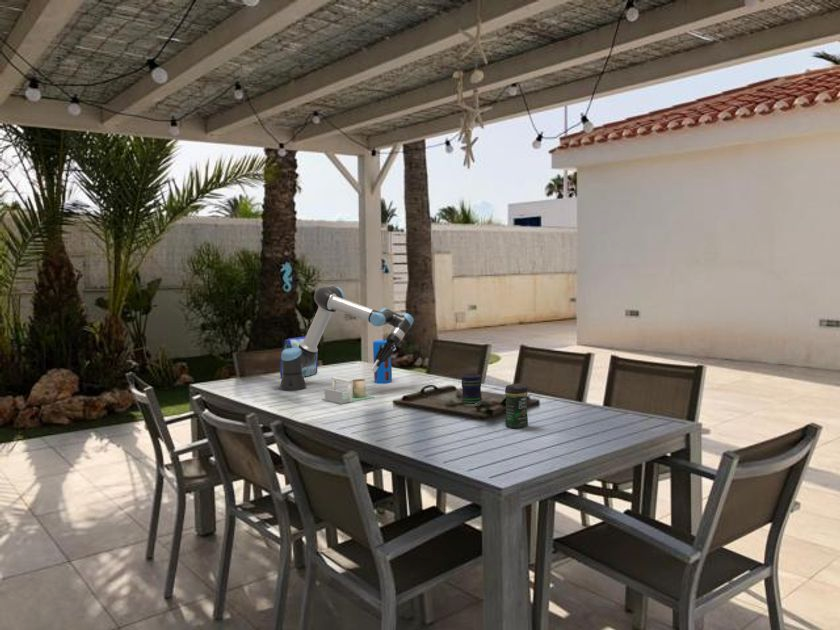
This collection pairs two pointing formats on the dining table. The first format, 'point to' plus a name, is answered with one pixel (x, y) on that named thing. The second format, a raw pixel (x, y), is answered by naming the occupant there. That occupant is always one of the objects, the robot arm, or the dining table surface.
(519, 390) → the coffee jar
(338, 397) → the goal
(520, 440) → the dining table surface
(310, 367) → the lunch bag
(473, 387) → the storage jar
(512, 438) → the dining table surface
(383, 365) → the thermos
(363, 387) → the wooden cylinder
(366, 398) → the pitch
